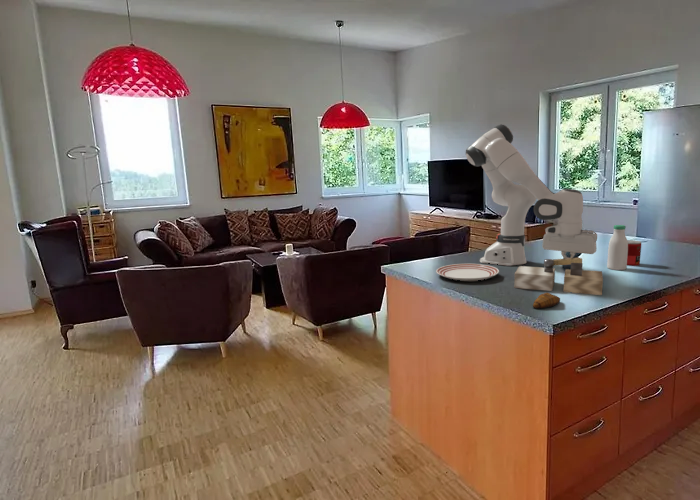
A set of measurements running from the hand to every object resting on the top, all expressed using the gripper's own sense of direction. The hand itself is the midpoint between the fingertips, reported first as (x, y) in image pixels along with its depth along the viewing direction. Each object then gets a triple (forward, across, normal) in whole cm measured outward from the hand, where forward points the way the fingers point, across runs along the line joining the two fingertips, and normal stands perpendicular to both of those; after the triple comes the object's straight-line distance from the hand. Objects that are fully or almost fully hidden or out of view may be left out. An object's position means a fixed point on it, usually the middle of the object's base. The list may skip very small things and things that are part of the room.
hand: (567, 262), depth 187 cm
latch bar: (0, 0, +5) cm, 5 cm away
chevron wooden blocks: (+8, 0, +9) cm, 13 cm away
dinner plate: (+9, +38, +14) cm, 42 cm away
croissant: (+9, -5, +36) cm, 37 cm away
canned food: (+9, -12, -50) cm, 53 cm away
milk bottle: (+9, -9, -37) cm, 39 cm away
